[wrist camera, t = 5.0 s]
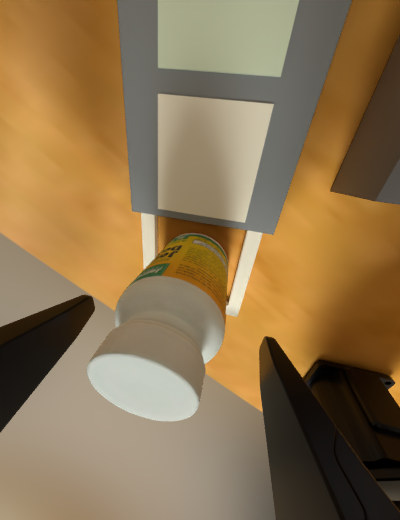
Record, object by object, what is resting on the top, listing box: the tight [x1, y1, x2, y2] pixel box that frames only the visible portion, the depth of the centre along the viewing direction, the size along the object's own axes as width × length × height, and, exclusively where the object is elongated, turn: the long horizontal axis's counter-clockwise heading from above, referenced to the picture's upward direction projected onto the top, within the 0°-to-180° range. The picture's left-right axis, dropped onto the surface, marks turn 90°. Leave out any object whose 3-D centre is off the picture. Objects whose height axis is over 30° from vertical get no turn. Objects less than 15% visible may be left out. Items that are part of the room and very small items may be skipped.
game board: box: [117, 0, 352, 317], centre depth 11 cm, size 22×10×1 cm, turn 173°
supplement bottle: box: [87, 233, 228, 421], centre depth 10 cm, size 5×5×10 cm
